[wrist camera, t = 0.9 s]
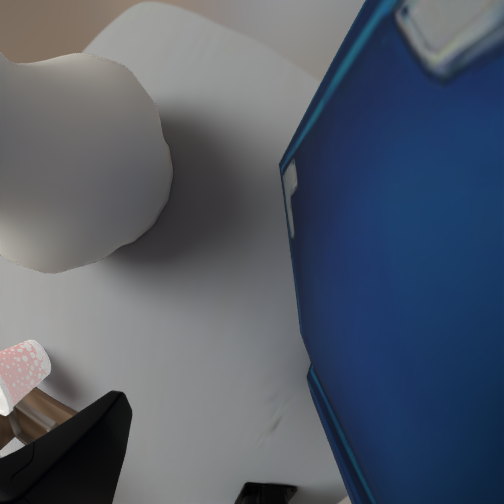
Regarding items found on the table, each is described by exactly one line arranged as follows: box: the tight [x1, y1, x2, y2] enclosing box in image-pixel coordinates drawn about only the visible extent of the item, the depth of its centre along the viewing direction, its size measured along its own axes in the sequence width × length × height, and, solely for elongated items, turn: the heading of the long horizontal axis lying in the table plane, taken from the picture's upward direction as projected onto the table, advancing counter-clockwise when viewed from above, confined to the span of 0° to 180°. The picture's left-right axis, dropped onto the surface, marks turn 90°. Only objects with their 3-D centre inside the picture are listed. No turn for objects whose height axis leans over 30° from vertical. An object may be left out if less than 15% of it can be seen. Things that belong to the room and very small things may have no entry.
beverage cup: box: [0, 340, 51, 416], centre depth 15 cm, size 6×6×14 cm
